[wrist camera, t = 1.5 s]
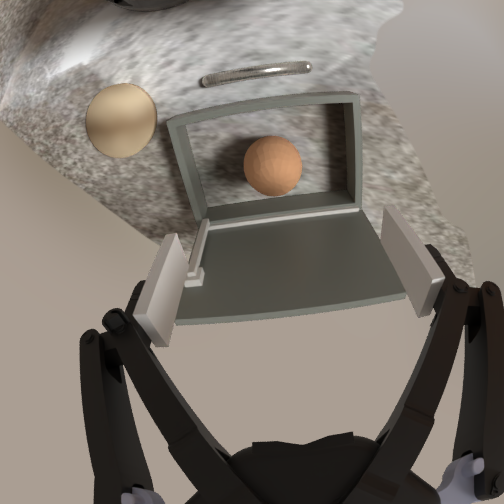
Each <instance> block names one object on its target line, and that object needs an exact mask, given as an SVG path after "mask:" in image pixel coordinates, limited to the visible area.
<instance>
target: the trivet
mask: <svg viewBox="0 0 504 504" xmlns="http://www.w3.org/2000/svg"><path fill="white" fill-rule="evenodd" d="M156 126H157V111H156V107H155V104H154V102H153V100H152V98H151V97H150V95H149V94H148V93H147V92H146V91H145V90H144V89H142V88H140V87H139V86H136V85H133V84H128V83H122V84H117V85H112V86H109V87H107V88H105V89H103V90H102V91H101V92H99V93H98V94H97V95H96V96H95V98H94V99H93V100H92V102H91V104H90V106H89V108H88V111H87V116H86V127H87V132H88V135H89V138H90V140H91V142H92V143H93V145H94V146H95V147H96V148H97V149H98V150H99V151H100V152H102V153H103V154H105V155H107V156H110V157H114V158H125V157H129V156H132V155H134V154H136V153H137V152H139V151H140V150H141V149H143V148H144V147H145V146H146V145H147V144H148V143H149V141H150V140H151V138H152V137H153V135H154V133H155V130H156Z"/></svg>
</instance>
